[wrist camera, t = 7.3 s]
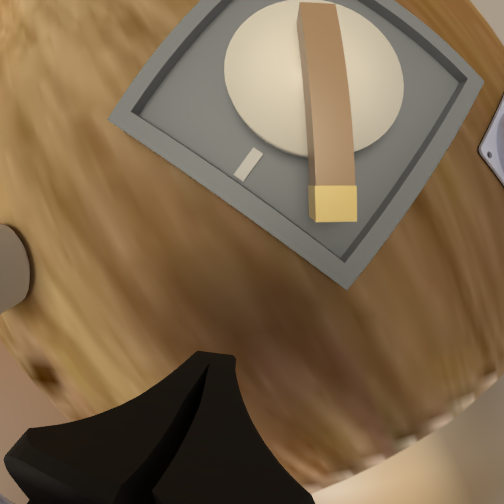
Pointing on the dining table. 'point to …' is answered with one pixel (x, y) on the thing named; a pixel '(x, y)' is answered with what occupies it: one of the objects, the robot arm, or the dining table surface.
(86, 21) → the dining table surface
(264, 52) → the dial
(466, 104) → the slate tray
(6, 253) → the can
